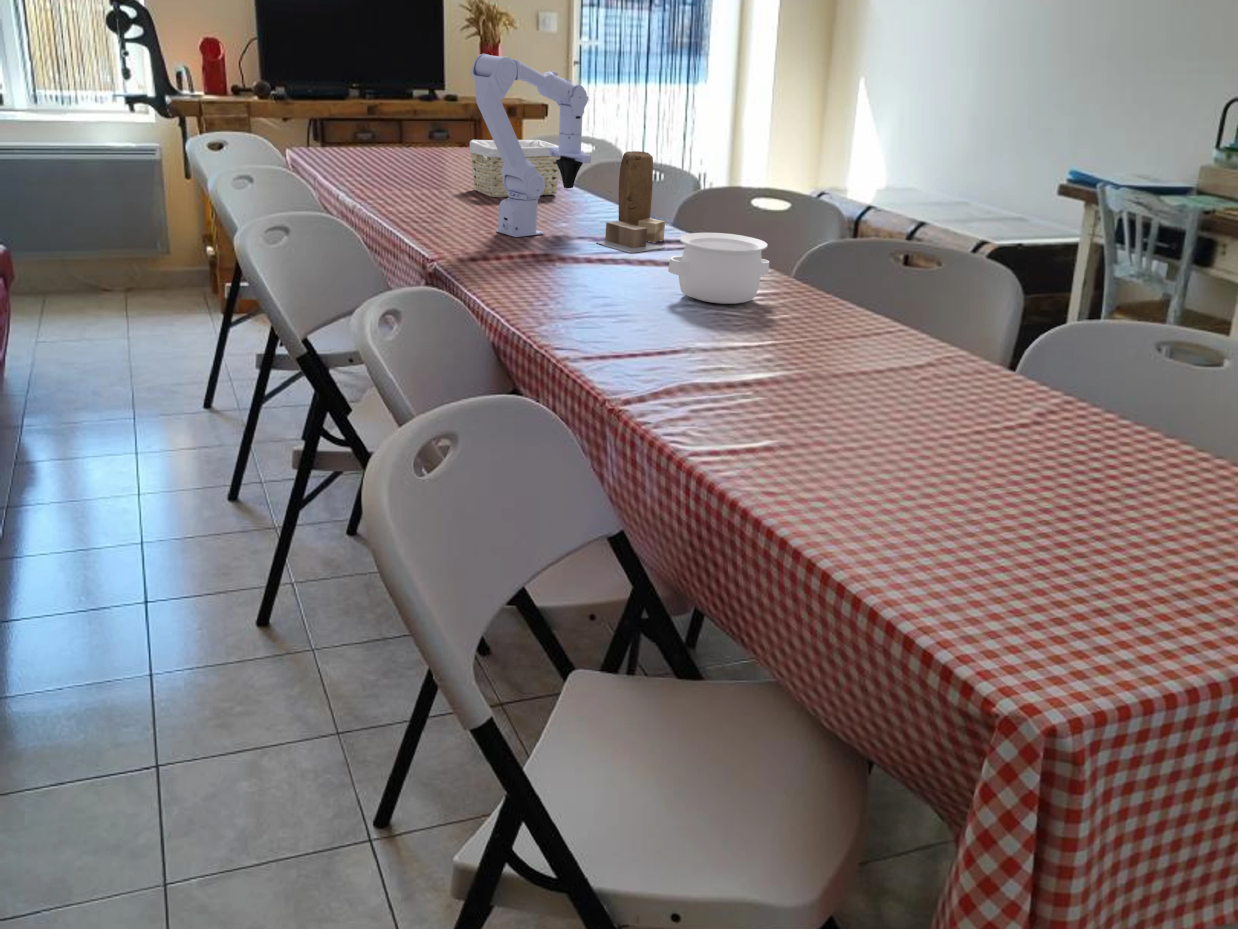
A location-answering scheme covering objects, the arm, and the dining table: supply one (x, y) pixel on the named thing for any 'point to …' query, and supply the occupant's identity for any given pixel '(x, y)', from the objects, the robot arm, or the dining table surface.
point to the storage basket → (491, 163)
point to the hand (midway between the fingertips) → (568, 187)
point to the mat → (631, 250)
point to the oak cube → (653, 229)
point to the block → (635, 187)
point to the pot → (720, 267)
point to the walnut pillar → (626, 234)
